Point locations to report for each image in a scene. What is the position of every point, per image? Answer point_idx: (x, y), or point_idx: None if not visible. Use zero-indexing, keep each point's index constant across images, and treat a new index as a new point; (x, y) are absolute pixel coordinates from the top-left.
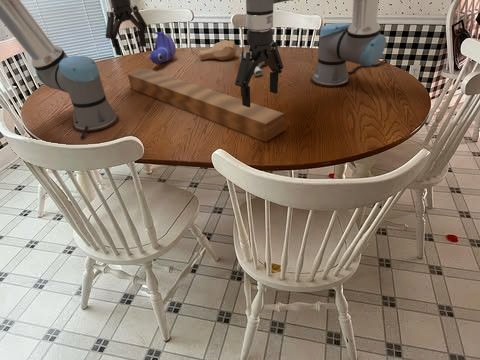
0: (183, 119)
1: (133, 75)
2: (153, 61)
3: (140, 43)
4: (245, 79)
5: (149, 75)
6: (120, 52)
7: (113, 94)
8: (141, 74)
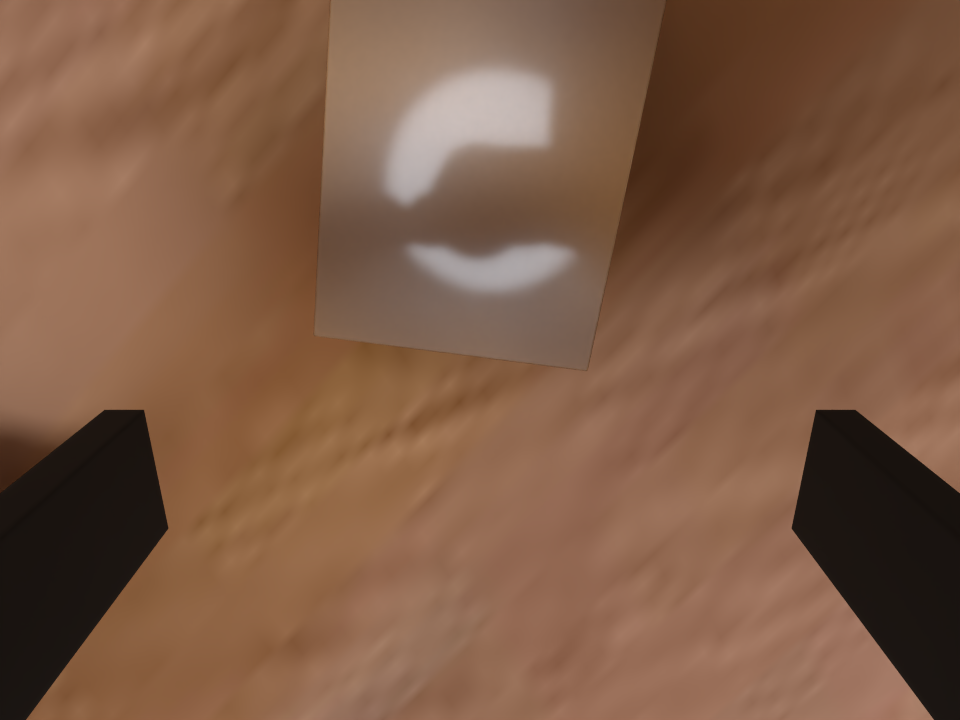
0: None
1: (589, 267)
2: None
3: (139, 558)
4: None
5: (488, 44)
6: (874, 439)
7: (746, 357)
8: (513, 193)
